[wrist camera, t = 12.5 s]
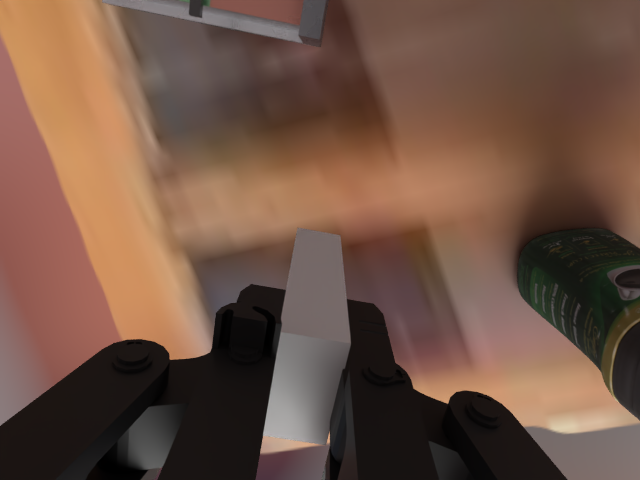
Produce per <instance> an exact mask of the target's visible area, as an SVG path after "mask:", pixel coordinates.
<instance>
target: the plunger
mask: <svg viewBox="0 0 640 480" xmlns="http://www.w3.org/2000/svg"><path fill="white" fill-rule="evenodd" d="M202 13H203V0H190V4H189V15H190V16H193V17H198V18H202Z"/></svg>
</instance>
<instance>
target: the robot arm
mask: <svg viewBox="0 0 640 480" xmlns="http://www.w3.org/2000/svg"><path fill="white" fill-rule="evenodd" d="M329 431H330V449H329V452H328V456H327V460H326V464H325V468H324V472H323V476H322V480H567V479H566V477H565V476H564V475H563V474H562V473H561V471H560V470H559V469H558V468H557V467H556V465H554V463H553V462H552V461H551V459H550V458H549V457H548V456H547V455H546V454H545V452H544V451H543V450H542V449H541V448H540V446H539V445H538V444H537V443H536V442H535V440H533V438H532V437H531V436H530V434H529V433H528V432H527V431H526V430H525V429H524V427H523V426H522V425H521V424H520V423H519V421H518V420H517V419H516V418H515V417H514V415H513V414H512V413H511V412H510V411H509V410H508V409H507V408H506V407H504V406H503V405H502V404H501V403H499V402H498V401H496V400H494V399H493V398H491V397H489V396H487V395H484V394H482V393H478V392H473V391H460V392H456V393H455V394H454V395H453V396H451V397H450V400H449V403H448V404H446V403H444V402H441V401H439V400H436V399H433V398H431V397H428V396H426V395H424V394H422V393H420V392H418V391H416V390H415V389H413V385H412V382H411V379H410V377H409V376H408V374H407V372H406V371H405V370H404V369H403V368H401V367H400V366H399V365H398V364H396V363H395V360H394V356H393V352H392V348H391V344H390V340H389V336H388V332H387V328H386V324H385V320H384V316H383V313H382V312H381V311H380V310H379V309H378V308H377V307H376V306H375V305H374V304H372V303H366V302H360V301H354V300H349V299H347V298H346V288H345V278H344V268H343V258H342V248H341V238H340V235H335V234H330V233H324V232H319V231H313V230H307V229H302V228H297V233H296V239H295V244H294V250H293V255H292V261H291V266H290V272H289V277H288V283H287V288H286V290H283V289H277V288H271V287H265V286H259V285H253V284H251V285H249V286H248V287H246V288H245V289H244V290H242V291H241V292H240V295H239V297H238V300H237V303H230V304H228V305H226V306H224V307H221V308H220V310H219V311H218V312H217V313H216V318H215V327H214V335H213V344H212V349H211V352H210V353H208V354H206V355H203V356H200V357H197V358H190V359H179V360H170V359H169V353H168V352H167V350H166V349H165V348H164V347H163V346H161V345H159V344H157V343H155V342H153V341H147V340H142V339H136V340H125V341H121V342H117V343H113V344H112V345H110V346H108V347H106V348H104V349H102V350H101V351H99V352H98V353H97V354H95V355H94V356H93V357H92V358H90V359H89V360H87V361H86V362H85V363H83V364H82V365H81V366H79V367H78V368H77V369H75V370H74V371H73V372H71V373H70V374H69V375H67V376H66V377H65V378H63V379H62V380H61V381H59V382H58V383H57V384H55V385H54V386H53V387H51V388H50V389H49V390H47V391H46V392H45V393H43V394H42V395H41V396H39V397H38V398H37V399H36V400H34V401H33V402H31V403H30V404H29V405H28V406H26V407H25V408H23V409H22V410H21V411H19V412H18V413H17V414H15V415H14V416H13V417H11V418H10V419H9V420H7V421H6V422H5V423H3V424H2V425H1V426H0V480H154V479H155V477H156V476H157V474H158V472H159V470H160V468H161V467H163V468H162V470H161V473H160V475H159V477H158V480H255V479H256V473H257V467H258V462H259V456H260V450H261V444H262V438H263V436H269V437H276V438H282V439H289V440H295V441H302V442H309V443H315V444H322V445H326V443H327V439H328V435H329Z"/></svg>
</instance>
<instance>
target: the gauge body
mask: <svg viewBox="0 0 640 480" xmlns="http://www.w3.org/2000/svg"><path fill="white" fill-rule="evenodd" d="M328 1H329V0H203V13H202V18H198V17H193V16H190V15H189V4H190V0H102V2H103V3H106V4H109V5H114V6H119V7H124V8H129V9H134V10H139V11H144V12H148V13H153V14H158V15H163V16H168V17H173V18H178V19H183V20H188V21H193V22H198V23H203V24H208V25H213V26H217V27H222V28H227V29H232V30H237V31H242V32H247V33H252V34H257V35H262V36H267V37H272V38H277V39H281V40H286V41H291V42H296V43H301V44H306V45H311V46H316V47H321V42H322V36H323V30H324V24H325V19H326V13H327V7H328Z"/></svg>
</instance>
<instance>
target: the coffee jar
mask: <svg viewBox="0 0 640 480" xmlns="http://www.w3.org/2000/svg"><path fill="white" fill-rule="evenodd" d="M517 279H518V288H519V292H520V294H521V296H522V298H523V299H524V300H525V301H526V302H527V303H528V304H529V305H530V306H531V307H532V308H533V309H534V310H535V311H536V312H537V313H538V314H540V315H541V316H542V317H543V318H544V319H546V320H547V321H548V322H549V323H550V324H551V325H553V326H554V327H555V328H556V329H557V330H559V331H560V332H561V333H562V334H563V335H564V336H565V337H567V338H568V339H569V340H570V341H571V342H572V343H573V344H574V345H575V346H576V347H577V348H579V349H580V350H581V351H582V352H583V353H584V354H585V355H586V356H587V357H588V358H589V359H590V360H591V361H592V362H593V363H594V364H595V365H596V366H597V367H598V369H599V370H600V371H601V372H602V376H603V379H604V382H605V385H606V386H607V388H608V390H609V392H610V393H611V395H612V396H613V397H614V398H615V400H617V401H618V402H619V403H620V404H621V405H622V406H624V407H625V408H626V409H627V410H628V411H629V412H630V413H632V414H633V415H634V416H635V417H637V418H638V419H639V420H640V249H639V248H638V247H636V246H635V245H634V244H632V243H630V242H629V241H627V240H626V239H624V238H622V237H621V236H619V235H617V234H615V233H613V232H612V231H610V230H607V229H602V228H583V229H572V230H564V231H558V232H553V233H549V234H545V235H542V236H539V237H537V238H535V239H533V240H532V241H530V242H529V243H528V244H527V245H526V246H525V248H524V249H523V251H522V253H521V255H520V258H519V263H518V273H517Z"/></svg>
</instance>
